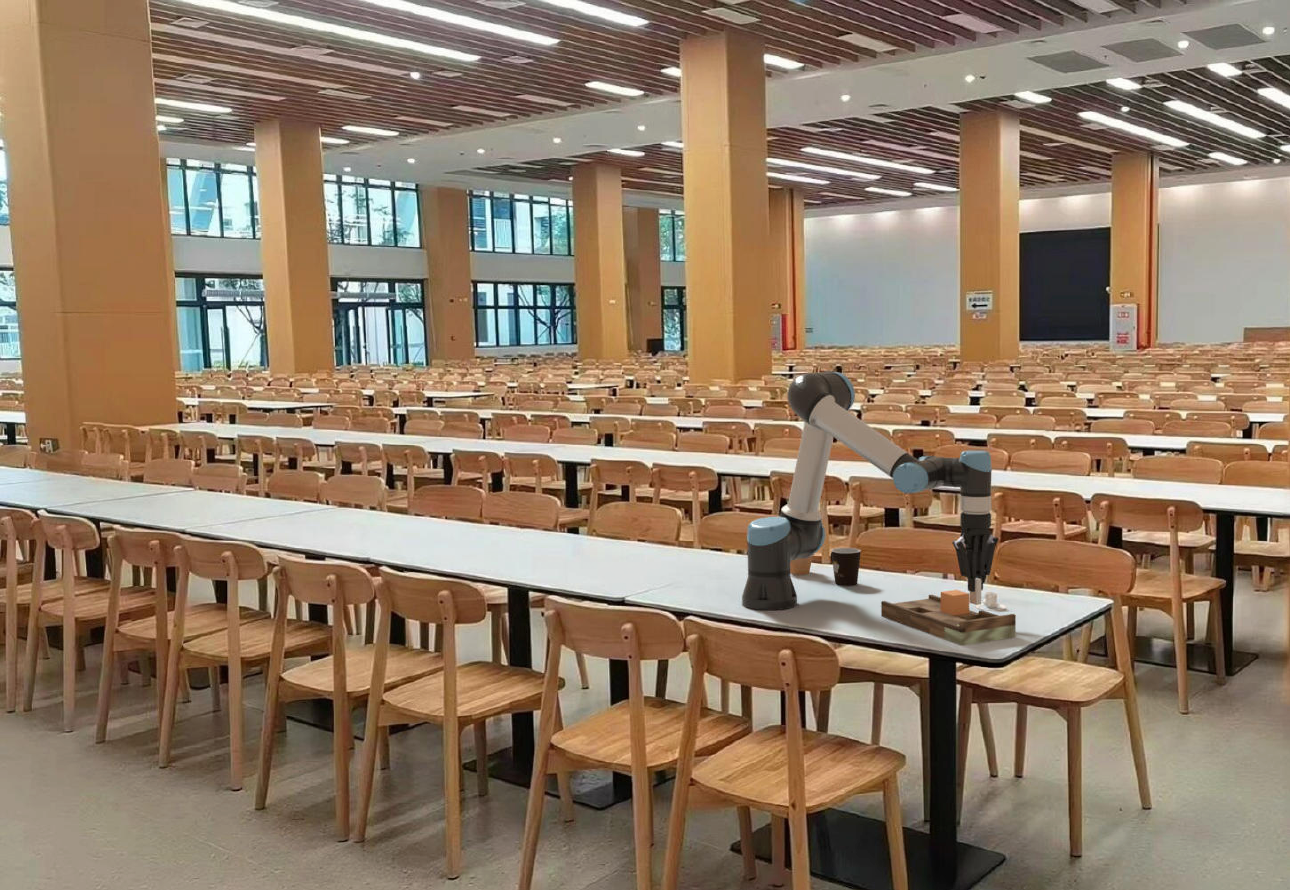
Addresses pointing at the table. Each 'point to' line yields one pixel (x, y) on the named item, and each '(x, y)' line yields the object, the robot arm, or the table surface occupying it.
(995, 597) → the teacup and saucer
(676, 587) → the table surface
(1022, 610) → the table surface
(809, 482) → the robot arm
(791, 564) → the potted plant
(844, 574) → the coffee mug
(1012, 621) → the board
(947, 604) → the block
